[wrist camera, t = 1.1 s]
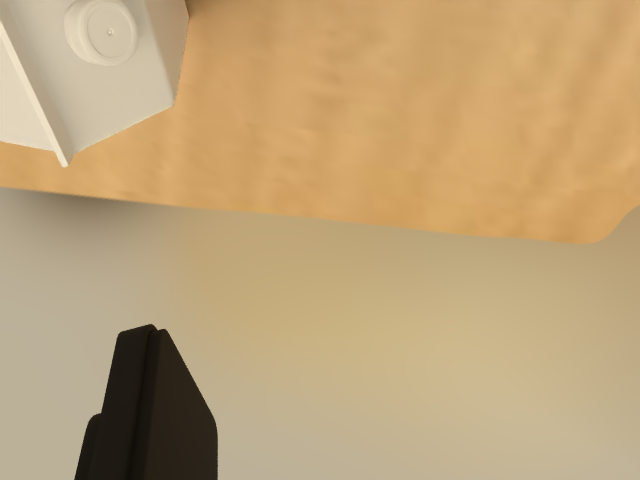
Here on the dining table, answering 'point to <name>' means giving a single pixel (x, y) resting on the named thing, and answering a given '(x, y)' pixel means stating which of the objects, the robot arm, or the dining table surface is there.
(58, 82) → the milk carton
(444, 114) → the dining table surface
